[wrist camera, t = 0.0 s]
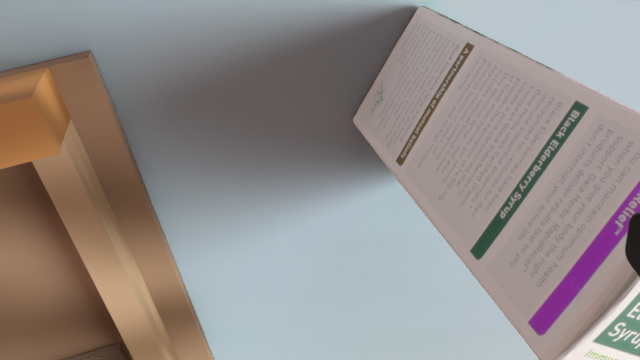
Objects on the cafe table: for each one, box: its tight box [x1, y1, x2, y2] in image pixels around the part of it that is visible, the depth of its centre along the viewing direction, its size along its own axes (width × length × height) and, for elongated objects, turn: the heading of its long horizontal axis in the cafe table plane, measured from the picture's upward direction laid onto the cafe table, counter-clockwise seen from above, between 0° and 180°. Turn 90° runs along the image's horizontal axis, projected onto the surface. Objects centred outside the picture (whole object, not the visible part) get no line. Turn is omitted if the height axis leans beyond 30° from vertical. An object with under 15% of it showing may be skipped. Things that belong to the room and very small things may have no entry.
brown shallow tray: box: [0, 51, 214, 360], centre depth 24 cm, size 23×12×4 cm, turn 10°
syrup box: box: [353, 6, 640, 360], centre depth 18 cm, size 6×6×14 cm
